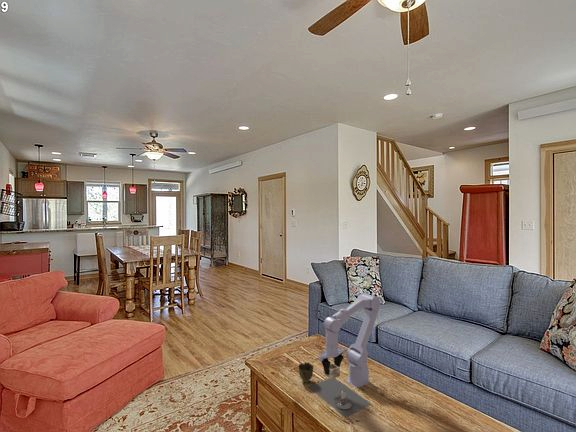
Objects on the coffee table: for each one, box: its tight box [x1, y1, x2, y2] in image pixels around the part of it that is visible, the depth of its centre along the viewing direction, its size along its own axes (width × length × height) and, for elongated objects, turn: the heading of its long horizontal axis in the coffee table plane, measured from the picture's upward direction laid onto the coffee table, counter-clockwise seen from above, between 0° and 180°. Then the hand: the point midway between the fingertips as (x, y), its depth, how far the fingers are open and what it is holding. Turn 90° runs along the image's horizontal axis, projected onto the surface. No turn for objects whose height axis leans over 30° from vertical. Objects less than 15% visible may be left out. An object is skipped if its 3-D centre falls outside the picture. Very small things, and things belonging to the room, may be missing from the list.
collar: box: [323, 362, 341, 379], centre depth 142 cm, size 5×5×4 cm
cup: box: [298, 362, 314, 384], centre depth 151 cm, size 8×7×8 cm
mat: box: [307, 377, 373, 418], centre depth 139 cm, size 16×26×1 cm, turn 32°
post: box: [335, 390, 352, 410], centre depth 132 cm, size 7×7×6 cm
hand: (331, 372), depth 142 cm, fingers closed on collar, 5 cm apart
